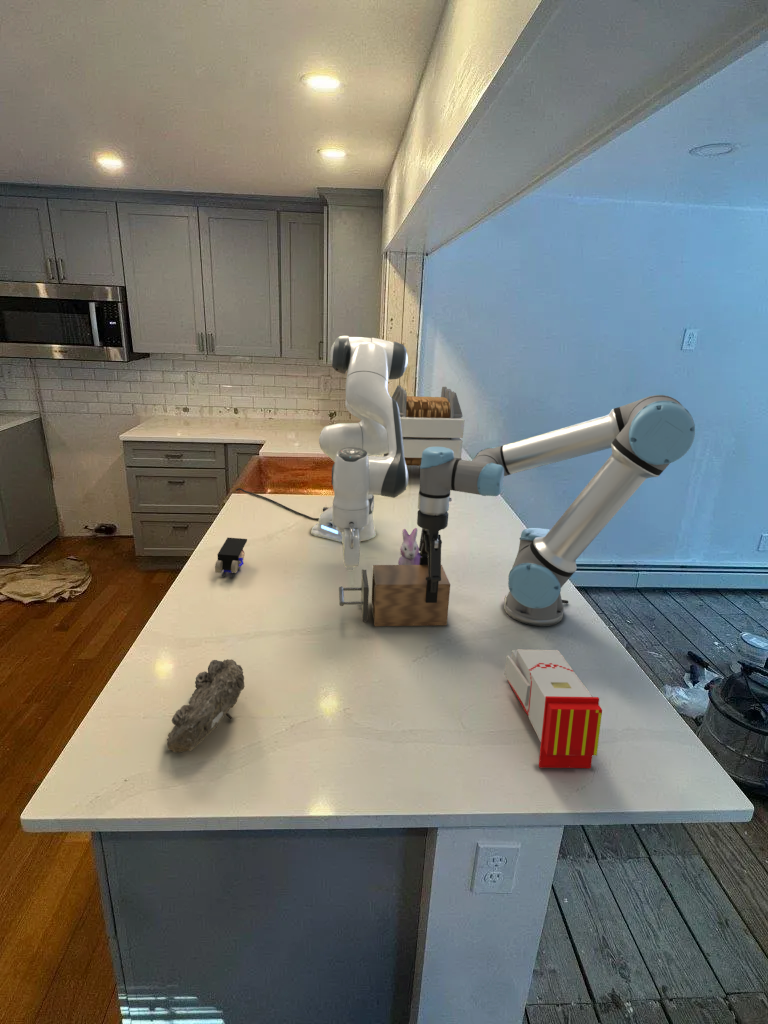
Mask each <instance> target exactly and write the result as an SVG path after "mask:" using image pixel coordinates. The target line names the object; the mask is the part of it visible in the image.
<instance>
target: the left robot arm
mask: <svg viewBox="0 0 768 1024" xmlns="http://www.w3.org/2000/svg"><path fill="white" fill-rule="evenodd" d="M329 359H330V363H331V368H332V369H333V370H334V371H335V372H337V373H339V374H343V375H345V374H346V378H345V379H346V380H345V402H344V405H345V408H346V410H347V412H348V413H349V414H351V415H352V416H353V417H355V418H357V419H359V420H360V421H359V422H341V423H340V422H339V423H334V424H329V425H325V426H324V427H323V428H322V429H321V431H320V434H319V437H318V442H319V443H318V444H319V447H320V449H321V451H322V452H323V454H325V455H326V456H327V457H328V458H330V459H331V460H332V462H333V465H332V466H331V485H332V489H333V493H334V494H333V499H332V505H331V506H329V507H325V506H324V507H323V508H322V512H321V514H320V515H319V517H311V516H309V515H307V514H304V513H302V512H299V511H296V510H295V509H293V508H291V507H288V506H285V505H283V504H282V503H279V502H278V501H275V500H273V499H271V498H268V497H266V496H263V495H260V494H257V493H255V492H251V491H248V490H245V489H243V488H240V487H238V488H236V489H235V491H236V492H237V491H241V492H243V493H246V494H248V495H253V496H256V497H258V498H261V499H264V500H266V501H269V502H271V503H274V504H276V505H278V506H279V507H282V508H284V509H285V510H288V511H290V512H292V513H294V514H297V515H299V516H302V517H305V518H307V519H309V520H312V521H317V523H315V524H314V525H313V526H312V528H311V530H310V533H311V536H315V537H319V538H323V539H326V540H330V541H336V542H339V543H342V557H343V558H342V559H343V560H342V561H343V566H344V567H345V568H346V571H347V572H349V571H350V572H352V571H354V569H355V568H357V567H359V566H360V557H361V556H360V555H361V542H365V541H368V540H372V539H373V538H375V537H376V535H377V532H376V528H375V523H374V513H373V512H374V509H375V496H382V497H387V498H393V499H395V498H397V497H399V496H400V495H402V494H404V492H405V491H406V490H407V487H408V484H409V471H408V466H407V465H406V462H405V459H404V447H403V437H402V427H401V420H400V413H399V407H398V404H397V402H396V401H395V400H394V399H392V396H391V395H390V393H389V389H388V386H389V385H388V384H389V381H390V380H392V381H393V380H398V379H400V378H402V377H403V376H404V373H405V372H406V370H407V368H408V364H409V355H408V352H407V348H406V346H405V345H404V344H402V343H400V342H397V341H390V340H386V339H381V338H377V337H365V336H364V337H363V336H350V335H339V336H338V337H336V338H335V339H334V341H333V343H332V345H331V347H330V352H329ZM386 453H389V454H388V455H387V456H385V457H384V456H382V455H384V454H386ZM374 495H375V496H374Z"/></svg>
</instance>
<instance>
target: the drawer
mask: <svg viewBox="0 0 768 1024" xmlns="http://www.w3.org/2000/svg"><path fill="white" fill-rule="evenodd" d="M368 578H369V577H368V571H367V569H361V578H360V579H361V580H360V581H361V584H360V587H344V586H343V585H342V586H339V587H338V604H339V606H340V607H344V606H347V605H348V606H351V605H352V606H353V605H355V606H356V605H357V606H358V605H360V607H361V616H362V617H361V618H362V622H368V621H369V618H368V617H369V597H370V596H369V595H370V594H369V593H370V587H369V579H368ZM345 591H351V592H352V591H355V592H356V591H357V592H358V591H360V601H359V600H358V601H345V593H344V592H345ZM375 593H376V585H375V579H374V573H373V572H372V577H371V600H370V601H371V603H370V604H371V611H372V610H373V611H372V618H373V617H374V618H375ZM374 618H373V619H374Z"/></svg>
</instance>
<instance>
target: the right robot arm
mask: <svg viewBox="0 0 768 1024" xmlns="http://www.w3.org/2000/svg"><path fill="white" fill-rule="evenodd" d="M695 436H696V424H695V421H694V418H693V416H692V414H691V413H690V411H689V410H688V409H687V408H686V407H684V405H683V404H682V403H681V402H680V401H678V400H677V399H676V398H674V397H672V396H669V395H664V394H655V395H649V396H645V397H643V398H640V399H638V400H635V401H633V402H630V403H627V404H624V405H621V406H618V407H614V408H612V409H611V410H610V412H609V413H608V414H606V415H603V416H600V417H595V418H593V419H592V418H591V419H589V420H586V421H582V422H578V423H575V424H572V425H568V426H566V427H561V428H558V429H555V430H552V431H548V432H547V431H546V432H544V433H542V434H541V433H540V434H538V435H533V436H531V437H527V438H524V439H523V438H522V439H521V440H517V441H513V442H510V443H506V444H503V445H499V446H496V447H492V446H489V447H485V448H483V449H481V450H479V451H478V452H477V453H476V454H475V456H474V457H473V459H472V460H467V459H462V460H460V459H455V458H454V453H453V451H452V450H451V449H449V448H445V447H428V448H426V449H425V450H424V451H423V453H422V460H421V466H419V488H418V489H419V490H418V498H417V499H418V500H417V510H418V511H417V516H416V517H417V518H416V524H417V526H418V527H419V528H421V533H420V539H419V545H418V547H419V553H420V556H422V557H420V564H419V565H428V577H426V578H425V579H426V580H427V588H426V603H437V594H438V582H439V581H441V565H442V543H443V541H442V537H441V536H442V535H441V534H440V533H439V532H440V531H441V530H445V529H446V528H447V527H448V524H449V523H448V522H449V512H448V511H449V509H450V503H451V502H452V500H453V498H452V497H451V491H453V492H460V493H465V494H472V495H480V496H482V497H498V496H499V495H500V494H501V492H502V489H503V485H504V480H505V477H506V476H510V475H513V474H518V473H521V472H524V471H529V470H533V469H536V468H540V467H543V466H548V465H551V464H552V465H553V464H555V463H559V462H562V461H563V462H564V461H567V460H570V459H574V458H578V457H582V456H586V455H589V454H593V453H597V452H601V451H604V450H609V449H611V455H610V456H609V457H608V458H607V460H606V461H605V462H604V463H603V465H602V466H601V467H600V468H599V469H598V471H596V473H595V474H594V475H593V477H592V478H591V479H590V480H589V482H588V483H587V484H586V485H585V486H584V488H583V489H582V490H581V491H580V493H579V494H578V495H577V496H576V497H575V499H574V500H573V501H572V502H571V504H570V505H569V507H567V509H566V510H565V511H564V512H563V513H562V515H561V516H560V518H559V519H557V521H556V522H555V523H554V525H553V526H552V527H551V528H550V529H548V528H541V527H529V528H524V529H522V531H521V533H520V537H519V546H518V550H517V553H516V557H515V559H514V562H513V565H512V568H511V569H510V571H509V574H508V578H507V580H508V582H507V584H508V585H507V586H508V590H509V591H508V593H507V595H505V596H504V598H503V600H504V604H503V605H504V606H503V609H504V612H505V613H506V614H507V615H508V616H509V617H510V618H512V619H513V620H515V621H517V622H519V623H522V624H526V625H529V626H537V627H550V626H554V625H556V624H558V623H559V624H560V623H561V621H562V620H563V618H564V604H565V605H566V604H567V605H568V604H569V600H567V599H562V593H561V591H562V587H564V585H565V584H566V583H567V582H568V581H569V579H570V578H571V577H572V576H573V575H574V574H575V572H576V571H577V567H578V566H577V560H578V559H579V557H580V556H581V555H582V554H583V552H584V551H585V550H586V549H587V548H588V547H589V546H590V545H591V543H593V541H594V540H595V539H596V538H597V536H598V535H599V534H600V533H601V532H602V530H604V528H605V527H606V526H607V525H608V524H609V523H610V522H611V520H612V519H613V518H614V517H615V516H616V514H617V513H618V512H619V511H620V510H621V509H622V508H623V506H624V505H625V504H626V503H627V502H628V501H629V500H630V498H631V497H632V496H633V495H634V494H635V493H636V491H637V490H639V488H640V487H641V485H643V483H644V482H645V481H646V480H647V479H650V478H651V479H652V478H658V477H660V476H661V474H662V473H663V472H664V471H665V470H666V469H667V468H668V467H669V466H670V465H671V464H672V463H674V462H676V461H678V460H680V459H682V457H684V456H685V455H686V454H687V453H688V452H689V450H690V449H691V447H692V446H693V444H694V441H695Z"/></svg>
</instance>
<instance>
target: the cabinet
mask: <svg viewBox="0 0 768 1024" xmlns="http://www.w3.org/2000/svg"><path fill="white" fill-rule="evenodd" d="M372 573H374V579H375V585H376V593H375V618H374V617H373V616H372V618H373V625H374V627H418V626H419V627H420V626H421V627H423V626H447V625H448V615H449V606H450V605H449V603H450V593H451V583H450V580H449V578H448V575H447V574H446V570H445V568H444V566H443V564H441V581H439V582H438V594H437V603H426V588H427V580H426V579H425V578H426V577H428V565H399V564H373V565H372ZM371 611H372V612H373V610H372V609H371Z"/></svg>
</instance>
